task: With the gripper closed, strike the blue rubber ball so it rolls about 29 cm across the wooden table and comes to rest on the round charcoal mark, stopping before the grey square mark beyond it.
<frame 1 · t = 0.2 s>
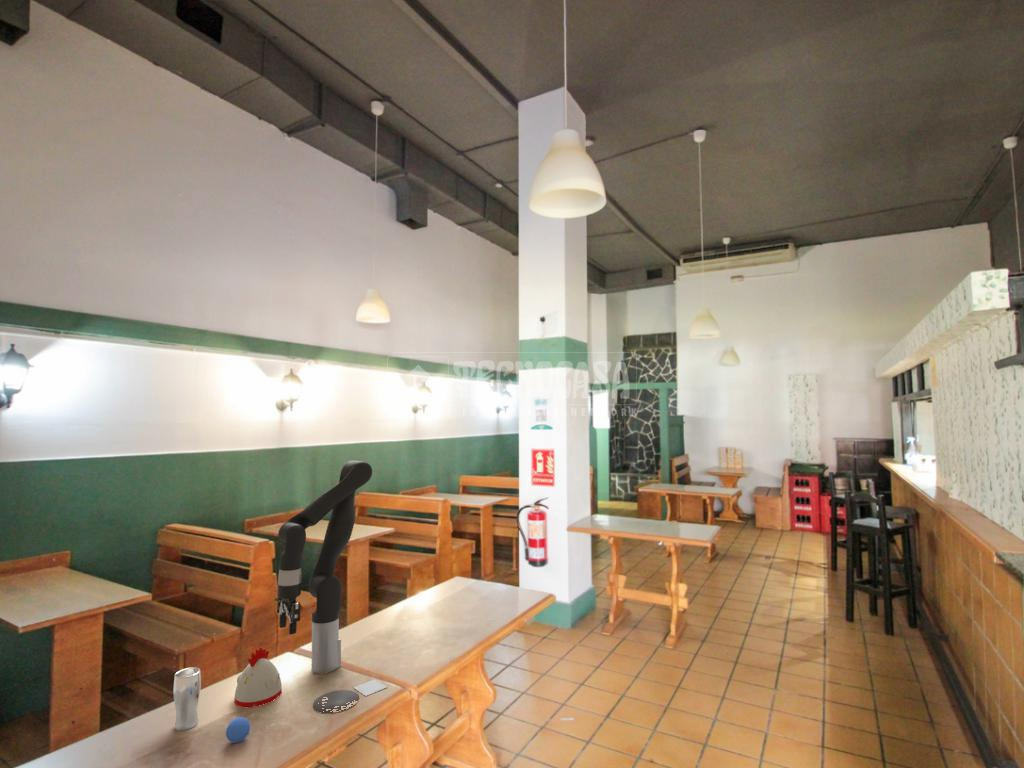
hand: (287, 630, 184), 17 cm above the table, tool pointing down, fingers open, 8 cm apart
kitchen timer: (258, 697, 174), on the table
ball: (238, 729, 149), on the table
beer glass: (186, 725, 158), on the table
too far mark: (370, 687, 178), on the table
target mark: (336, 701, 169), on the table
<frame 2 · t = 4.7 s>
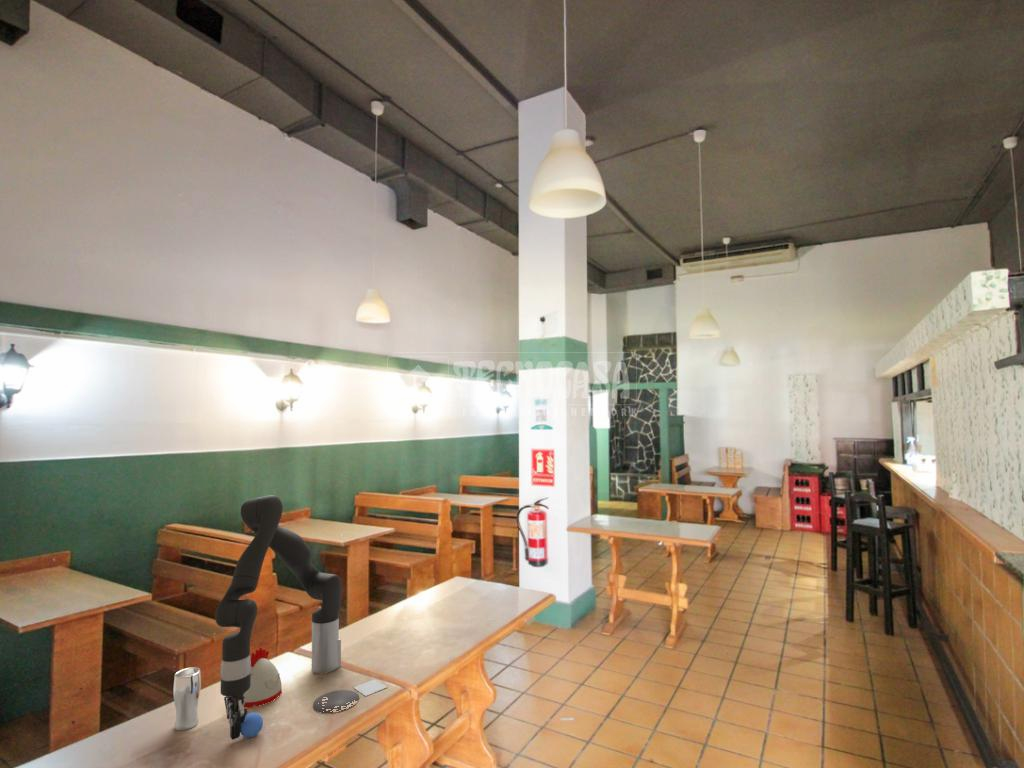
hand: (235, 737, 149), 1 cm above the table, tool pointing down, fingers closed
ball: (251, 725, 152), on the table, touching gripper
everything else where it was.
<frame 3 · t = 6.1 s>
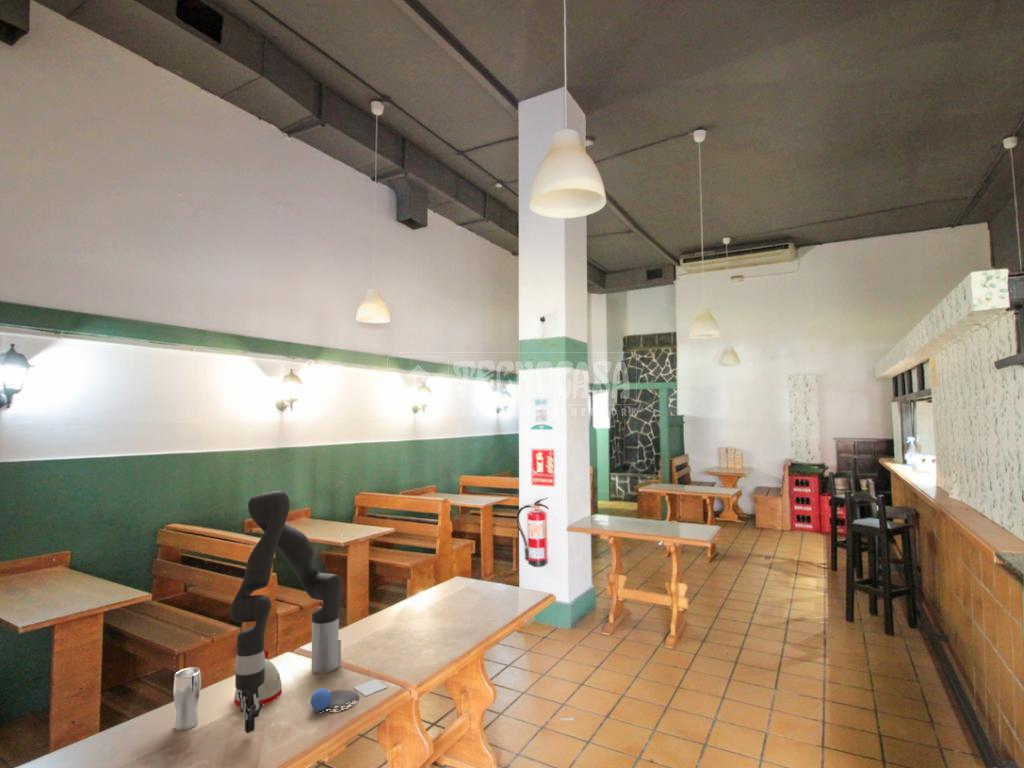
hand: (249, 731, 151), 2 cm above the table, tool pointing down, fingers closed
ball: (321, 699, 165), on the table
everything else where it was.
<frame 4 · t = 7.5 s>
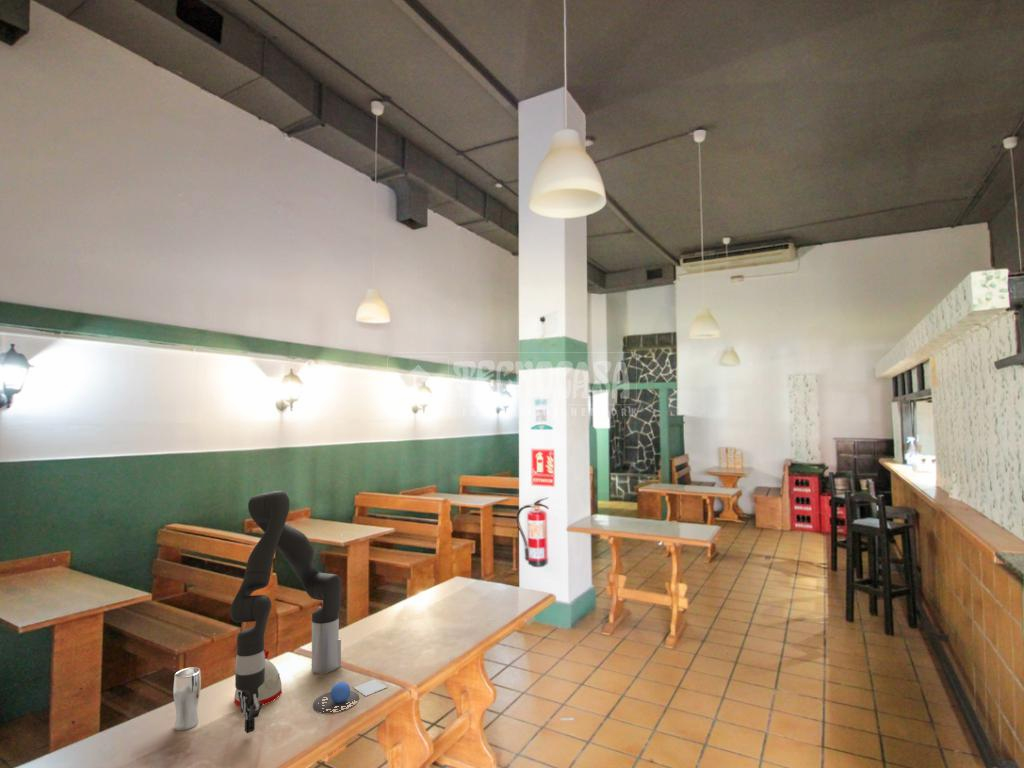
hand: (249, 731, 151), 2 cm above the table, tool pointing down, fingers closed
ball: (340, 692, 169), on the table
everything else where it was.
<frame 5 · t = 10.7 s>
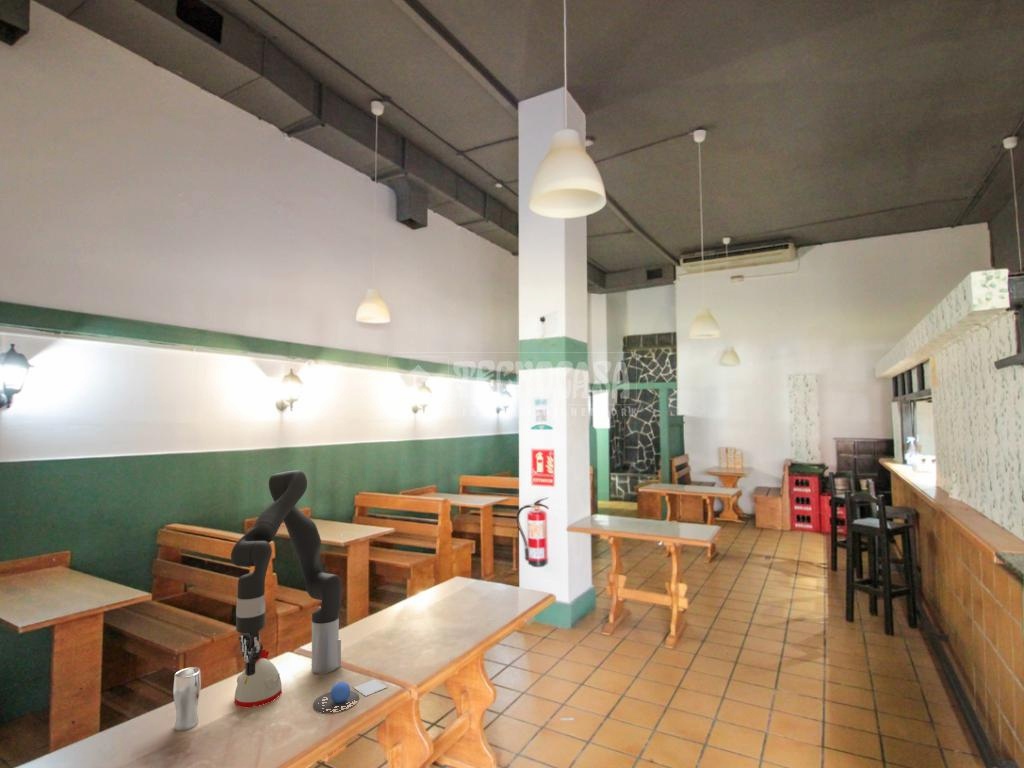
hand: (250, 674, 152), 17 cm above the table, tool pointing down, fingers closed
nothing on the table moved.
at the end: ball 1.6 cm from the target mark (horizontally); ball at rest at the end (0.0 cm/s); ball moved 29.8 cm from its start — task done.
